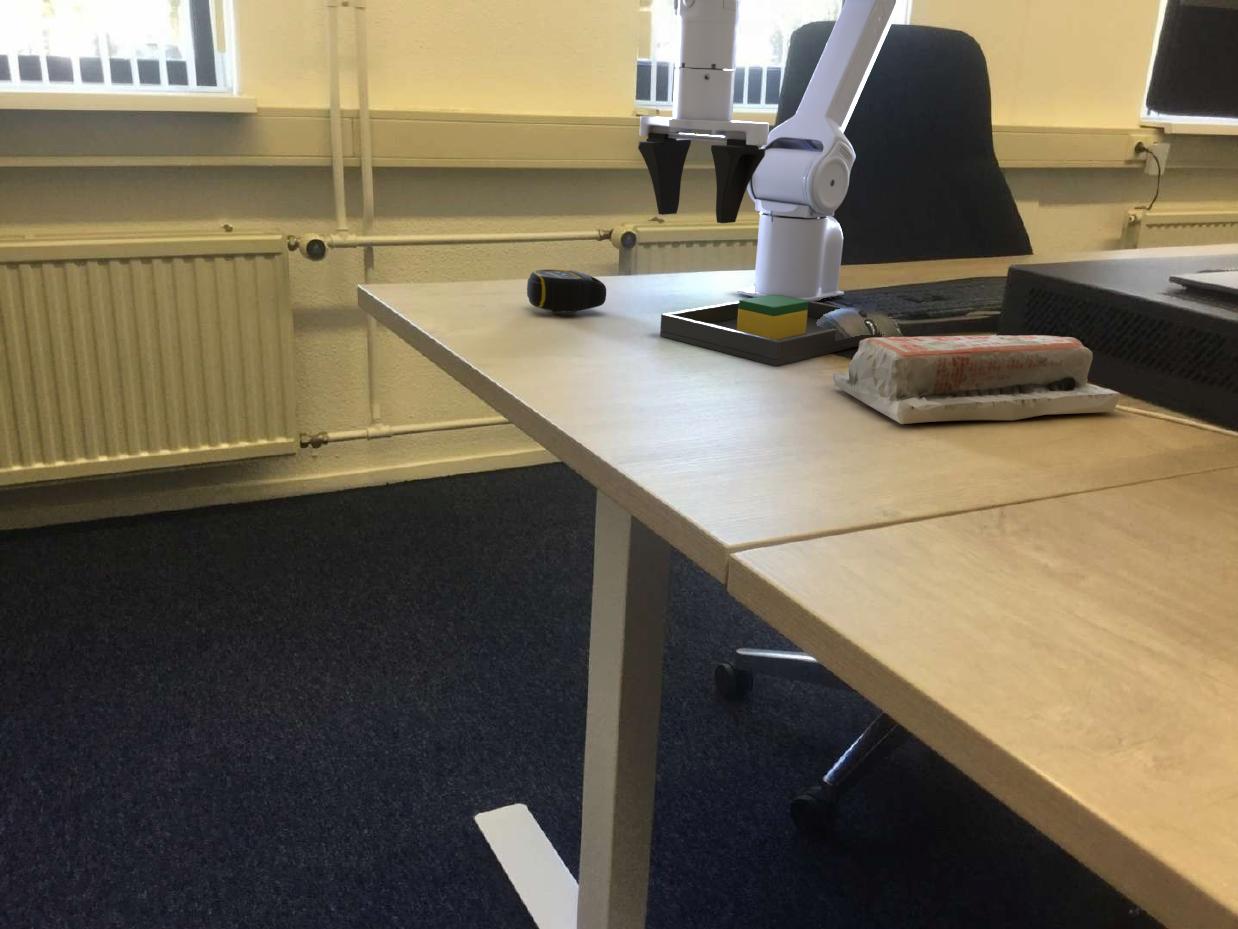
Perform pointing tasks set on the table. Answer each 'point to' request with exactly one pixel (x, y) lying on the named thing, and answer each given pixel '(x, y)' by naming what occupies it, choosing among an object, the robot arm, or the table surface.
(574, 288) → the tape measure
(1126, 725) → the table surface
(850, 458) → the table surface
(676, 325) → the tray
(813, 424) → the table surface
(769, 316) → the sponge
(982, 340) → the packaged product
